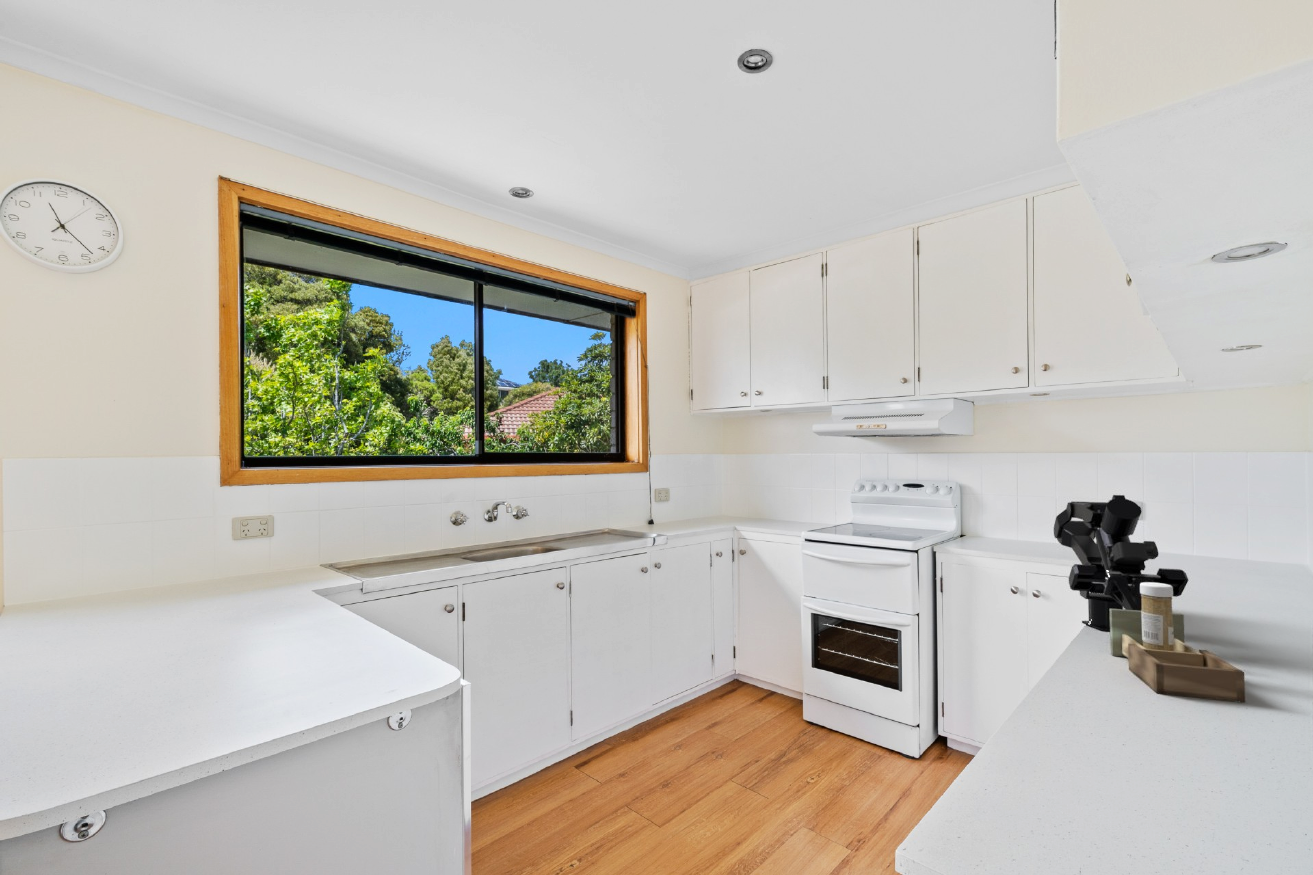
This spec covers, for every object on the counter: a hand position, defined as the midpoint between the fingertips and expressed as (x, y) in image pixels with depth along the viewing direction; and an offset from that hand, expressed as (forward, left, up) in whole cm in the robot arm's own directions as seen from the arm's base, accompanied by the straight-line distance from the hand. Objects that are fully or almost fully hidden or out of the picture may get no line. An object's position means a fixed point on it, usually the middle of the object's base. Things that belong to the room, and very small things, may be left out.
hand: (1137, 616), depth 121 cm
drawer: (+9, -3, -6) cm, 12 cm away
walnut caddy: (+18, -6, -7) cm, 20 cm away
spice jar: (+10, -4, -5) cm, 12 cm away
